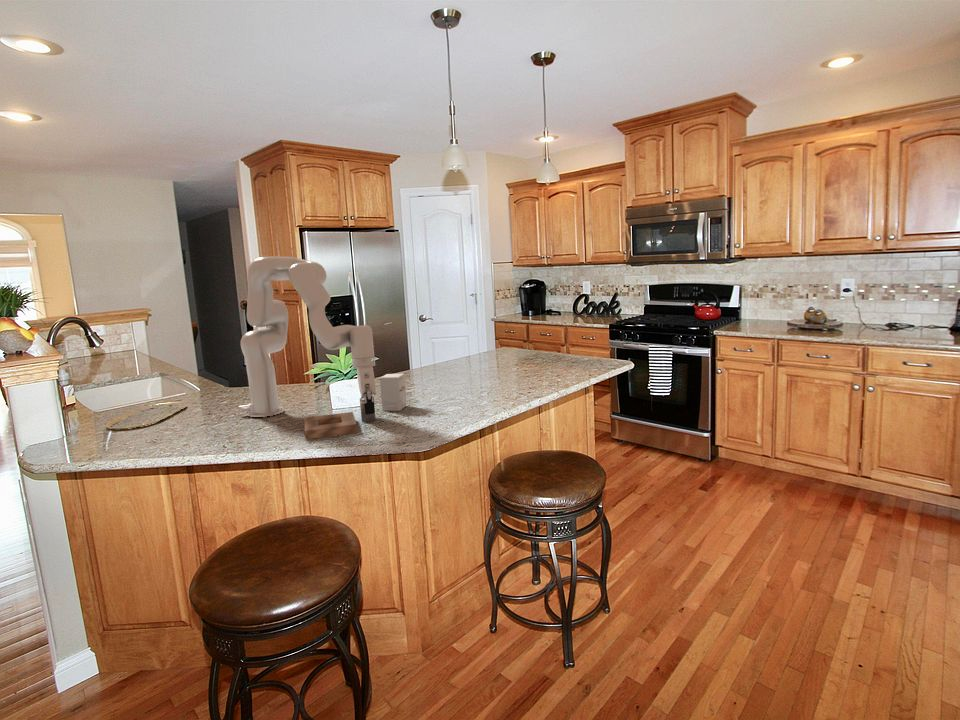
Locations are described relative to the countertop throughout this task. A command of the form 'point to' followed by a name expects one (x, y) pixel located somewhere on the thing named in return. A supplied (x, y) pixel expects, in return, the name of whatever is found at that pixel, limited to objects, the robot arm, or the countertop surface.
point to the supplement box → (393, 392)
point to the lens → (364, 417)
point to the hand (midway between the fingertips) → (368, 410)
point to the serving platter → (138, 425)
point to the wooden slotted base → (330, 425)
